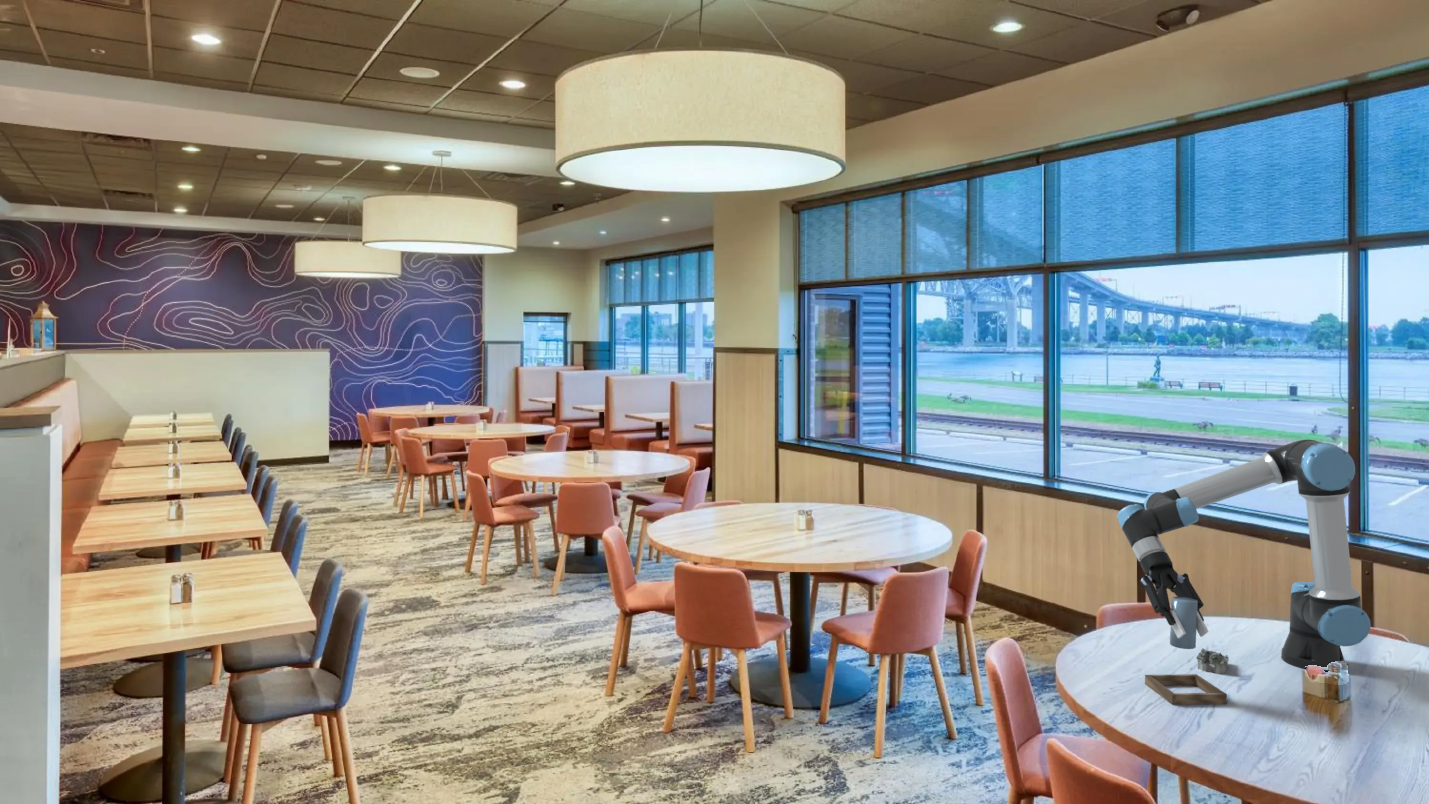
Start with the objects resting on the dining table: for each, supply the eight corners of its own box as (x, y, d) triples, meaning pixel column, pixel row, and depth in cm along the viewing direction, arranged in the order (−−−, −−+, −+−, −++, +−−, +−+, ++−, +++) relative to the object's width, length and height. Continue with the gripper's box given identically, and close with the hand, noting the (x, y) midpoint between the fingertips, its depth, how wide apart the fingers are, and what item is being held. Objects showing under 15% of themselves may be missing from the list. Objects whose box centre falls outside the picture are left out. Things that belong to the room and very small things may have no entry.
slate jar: (1187, 641, 247) (1189, 596, 246) (1200, 648, 241) (1202, 603, 240) (1165, 641, 246) (1167, 596, 245) (1177, 649, 240) (1179, 603, 239)
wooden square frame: (1196, 683, 250) (1196, 674, 250) (1226, 703, 236) (1226, 694, 236) (1144, 683, 249) (1145, 674, 249) (1172, 704, 235) (1172, 694, 235)
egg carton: (1224, 676, 256) (1224, 661, 256) (1194, 670, 261) (1194, 656, 260) (1230, 665, 264) (1231, 651, 264) (1201, 659, 269) (1201, 645, 269)
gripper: (1175, 562, 259) (1216, 639, 244) (1115, 566, 255) (1153, 644, 240) (1190, 548, 254) (1233, 625, 239) (1128, 551, 249) (1168, 630, 235)
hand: (1193, 634), depth 240 cm, fingers closed on slate jar, 6 cm apart
